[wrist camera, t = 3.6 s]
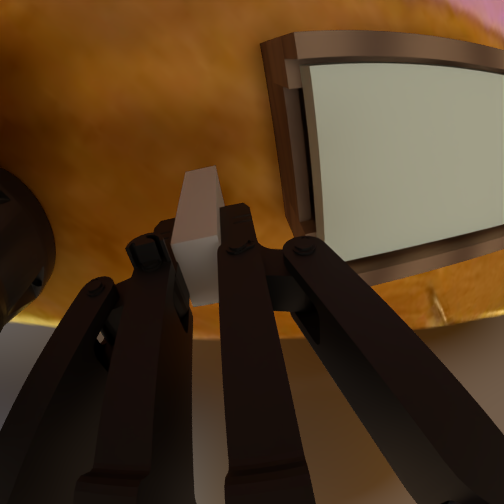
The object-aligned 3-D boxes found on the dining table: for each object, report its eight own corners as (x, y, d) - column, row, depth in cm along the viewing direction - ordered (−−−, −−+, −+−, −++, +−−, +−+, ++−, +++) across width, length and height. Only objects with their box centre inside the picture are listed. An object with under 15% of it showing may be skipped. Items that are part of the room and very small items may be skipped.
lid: (317, 248, 20) (329, 273, 18) (299, 64, 14) (314, 66, 11) (516, 206, 20) (535, 222, 18) (531, 79, 14) (555, 88, 11)
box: (285, 216, 27) (318, 298, 19) (259, 43, 19) (293, 32, 10) (469, 185, 27) (535, 238, 19) (475, 49, 19) (560, 69, 10)
